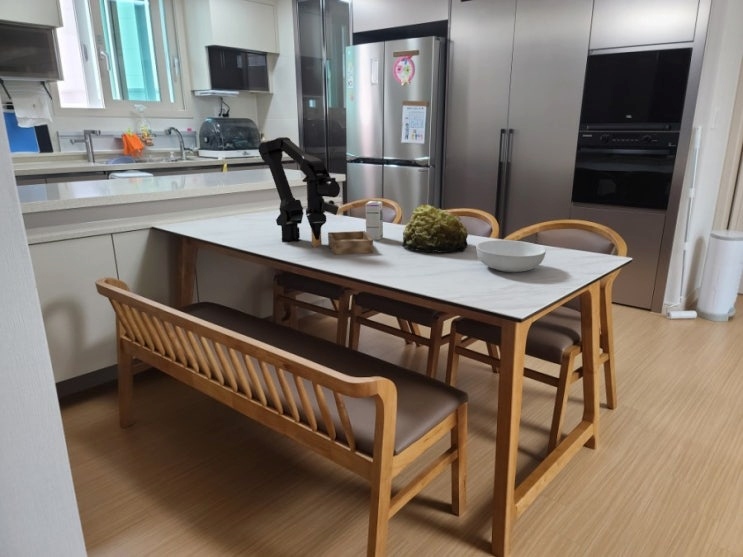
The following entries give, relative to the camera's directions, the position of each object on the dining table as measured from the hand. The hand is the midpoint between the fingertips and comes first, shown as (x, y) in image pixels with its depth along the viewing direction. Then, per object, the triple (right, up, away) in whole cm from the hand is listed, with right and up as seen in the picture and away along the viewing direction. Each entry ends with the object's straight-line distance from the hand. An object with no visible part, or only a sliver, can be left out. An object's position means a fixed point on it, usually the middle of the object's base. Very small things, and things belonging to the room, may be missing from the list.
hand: (316, 237), depth 191 cm
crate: (+13, -4, -4) cm, 14 cm away
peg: (0, -3, +1) cm, 3 cm away
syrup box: (+22, 0, +13) cm, 25 cm away
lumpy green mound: (+44, -4, -2) cm, 44 cm away
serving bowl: (+64, -12, -31) cm, 72 cm away
